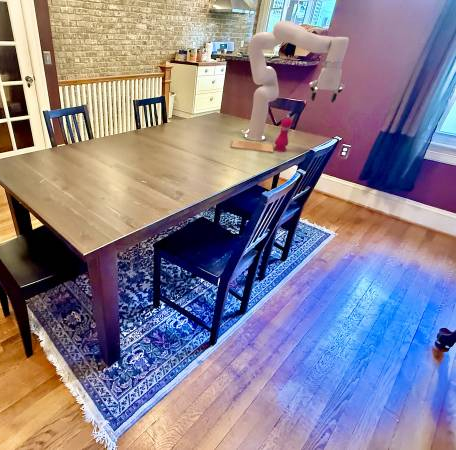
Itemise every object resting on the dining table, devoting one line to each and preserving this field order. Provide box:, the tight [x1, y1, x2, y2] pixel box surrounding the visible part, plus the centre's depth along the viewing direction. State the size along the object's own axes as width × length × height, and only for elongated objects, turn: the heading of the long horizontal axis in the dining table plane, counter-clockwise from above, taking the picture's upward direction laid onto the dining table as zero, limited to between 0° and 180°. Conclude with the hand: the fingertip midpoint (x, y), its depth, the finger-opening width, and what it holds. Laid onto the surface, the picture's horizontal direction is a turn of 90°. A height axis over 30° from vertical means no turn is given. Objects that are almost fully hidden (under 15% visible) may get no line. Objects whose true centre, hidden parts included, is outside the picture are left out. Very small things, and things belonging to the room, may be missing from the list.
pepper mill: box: [273, 114, 293, 153], centre depth 177 cm, size 7×7×20 cm
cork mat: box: [231, 139, 274, 154], centre depth 185 cm, size 24×14×1 cm, turn 73°
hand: (322, 101), depth 164 cm, fingers open, 9 cm apart
